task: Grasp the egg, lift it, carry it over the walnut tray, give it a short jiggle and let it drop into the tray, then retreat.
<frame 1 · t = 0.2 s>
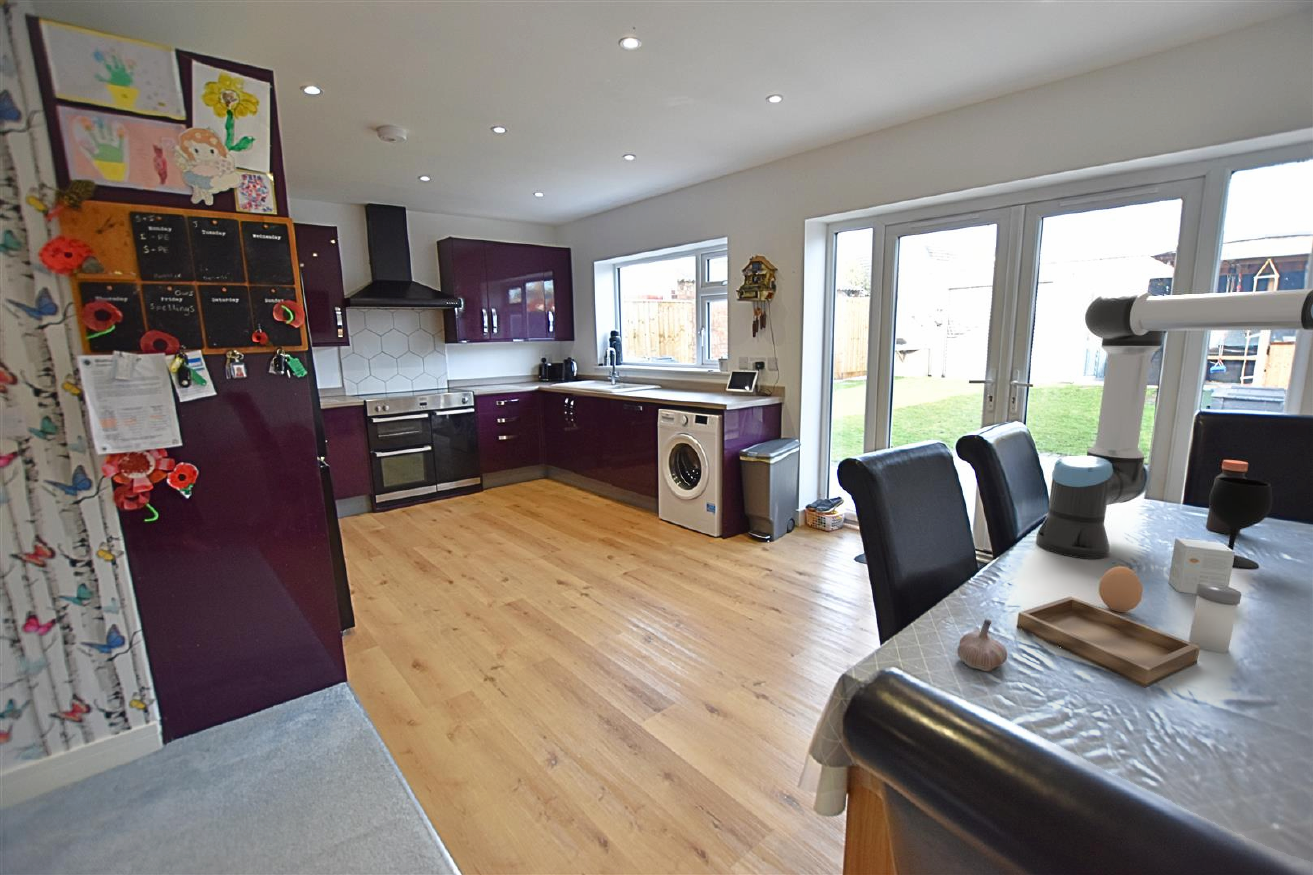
small box: (1195, 591, 120), on the table
egg: (1116, 611, 111), on the table
bottle: (1222, 531, 157), on the table
garlic bulb: (981, 664, 93), on the table
wine glass: (1227, 561, 136), on the table
tray: (1101, 644, 99), on the table
shaker: (1208, 644, 99), on the table
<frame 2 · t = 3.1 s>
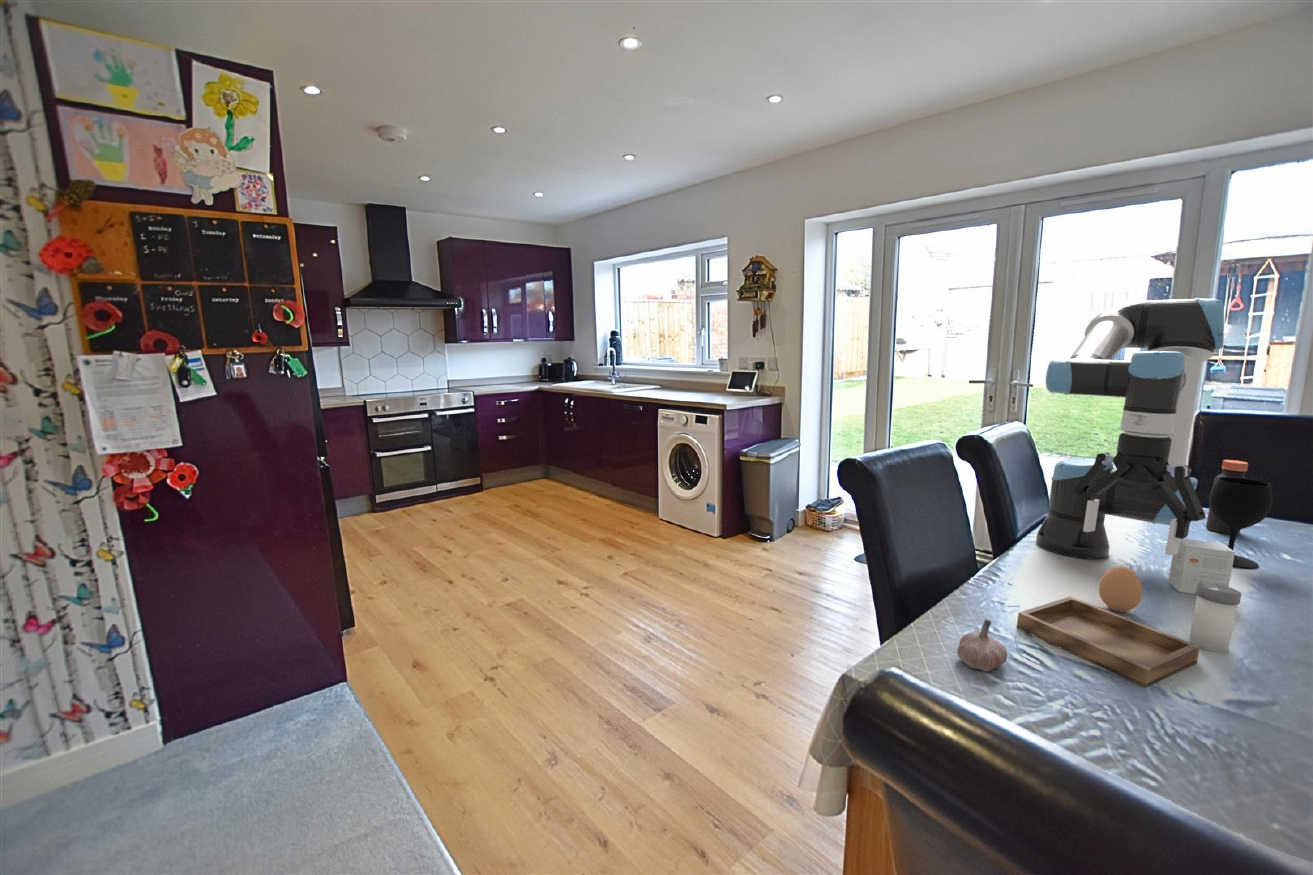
hand: (1127, 541, 108), 14 cm above the table, fingers open, 13 cm apart
nothing on the table moved.
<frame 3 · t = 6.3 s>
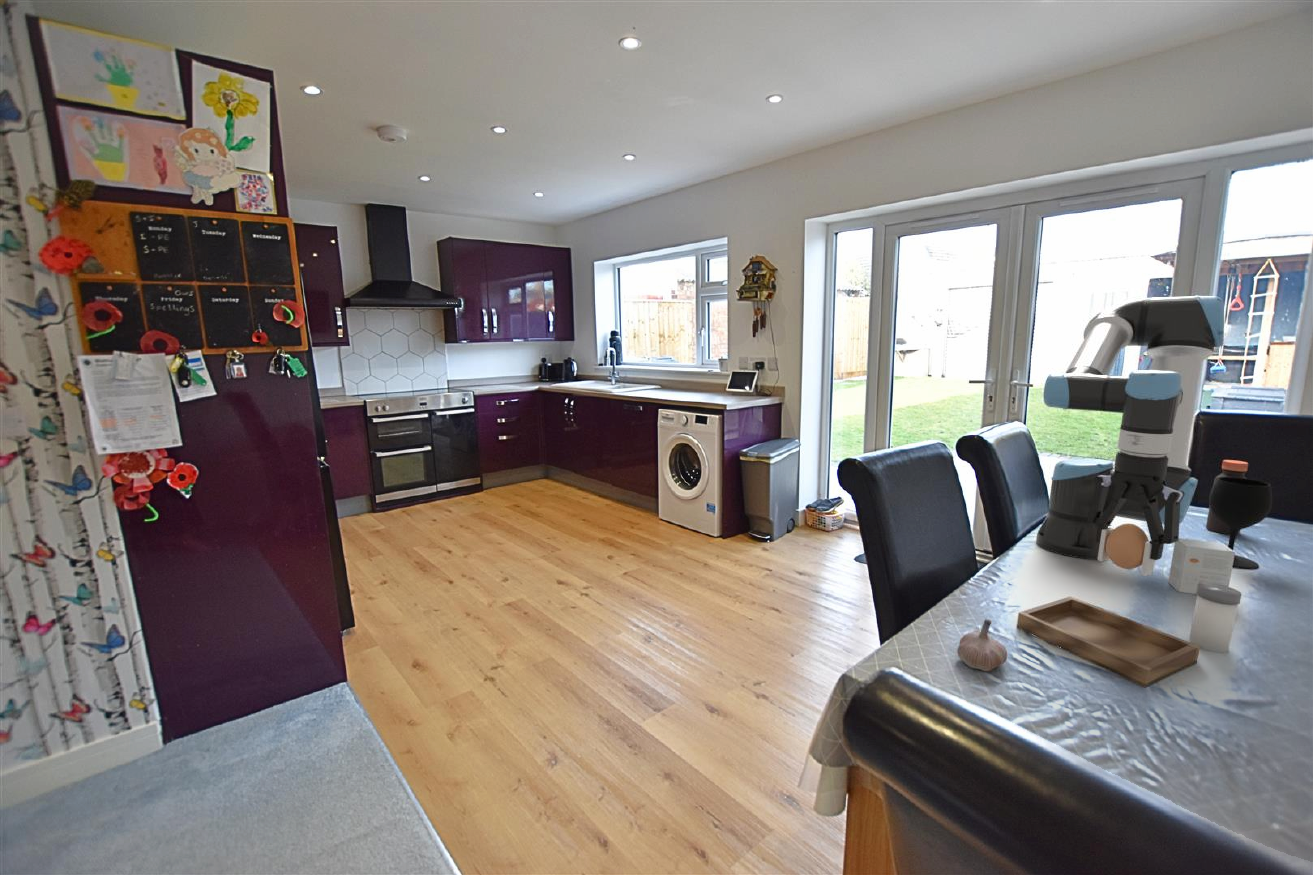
hand: (1124, 566, 110), 9 cm above the table, fingers closed on egg, 7 cm apart
egg: (1124, 568, 110), point 9 cm above the table, touching gripper
everything else where it was.
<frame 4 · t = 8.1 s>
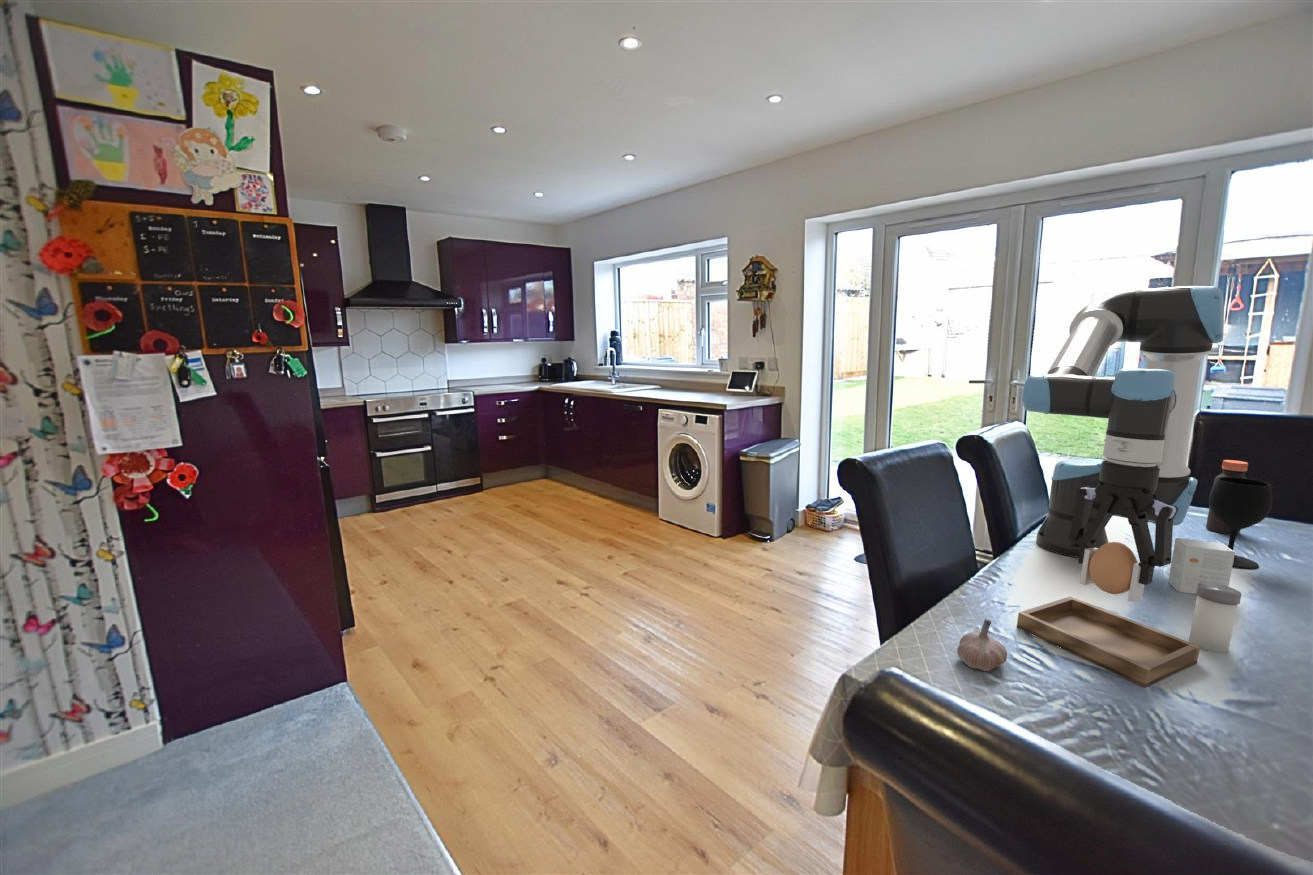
hand: (1109, 591, 97), 10 cm above the table, fingers closed on egg, 7 cm apart
egg: (1109, 593, 97), point 10 cm above the table, touching gripper
everything else where it was.
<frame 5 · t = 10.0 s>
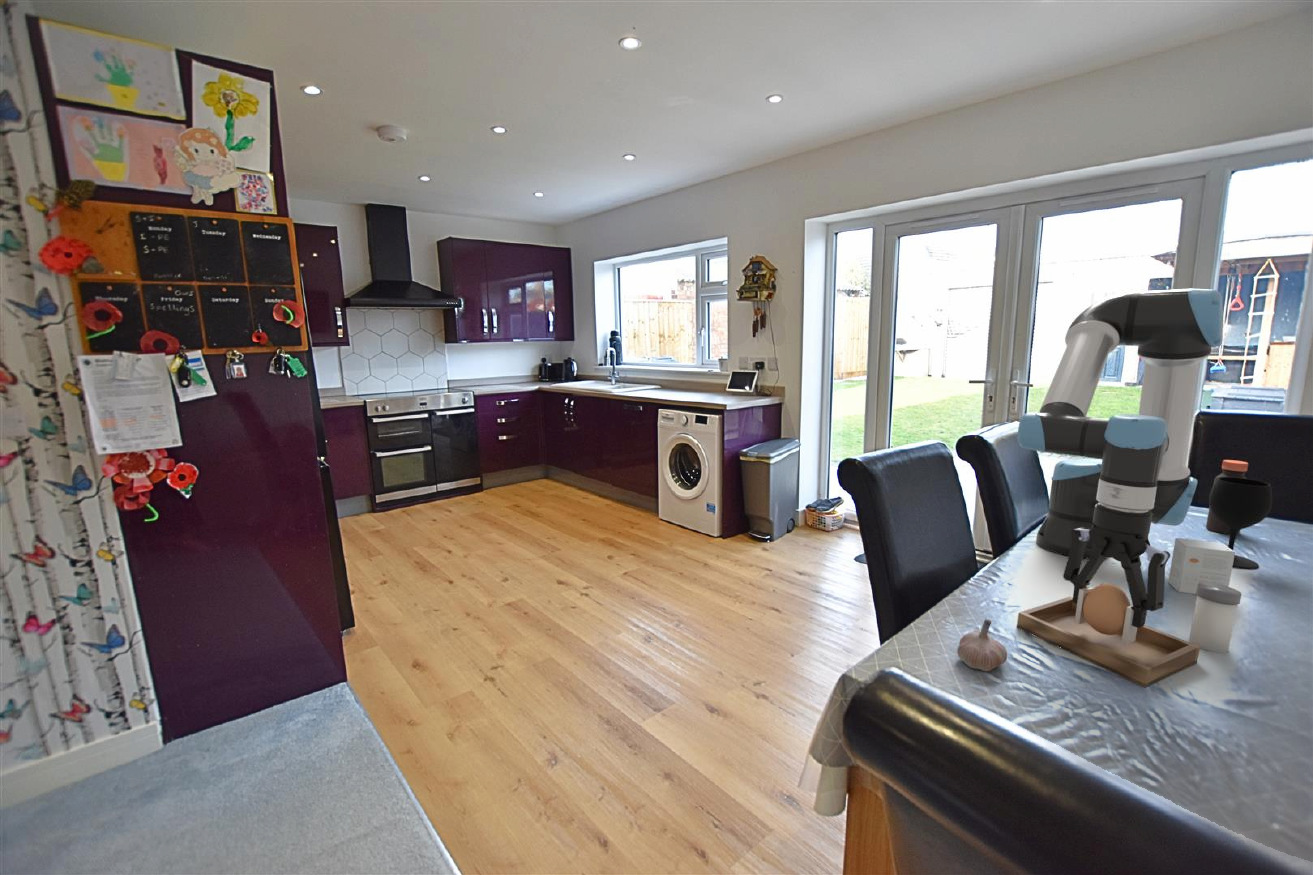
hand: (1103, 631, 98), 2 cm above the table, fingers closed on egg, 7 cm apart
egg: (1103, 633, 99), point 2 cm above the table, touching gripper
everything else where it was.
when the fingers open (2 cm above the table, at t = 10.5 s): egg drops 1 cm, resting on tray.
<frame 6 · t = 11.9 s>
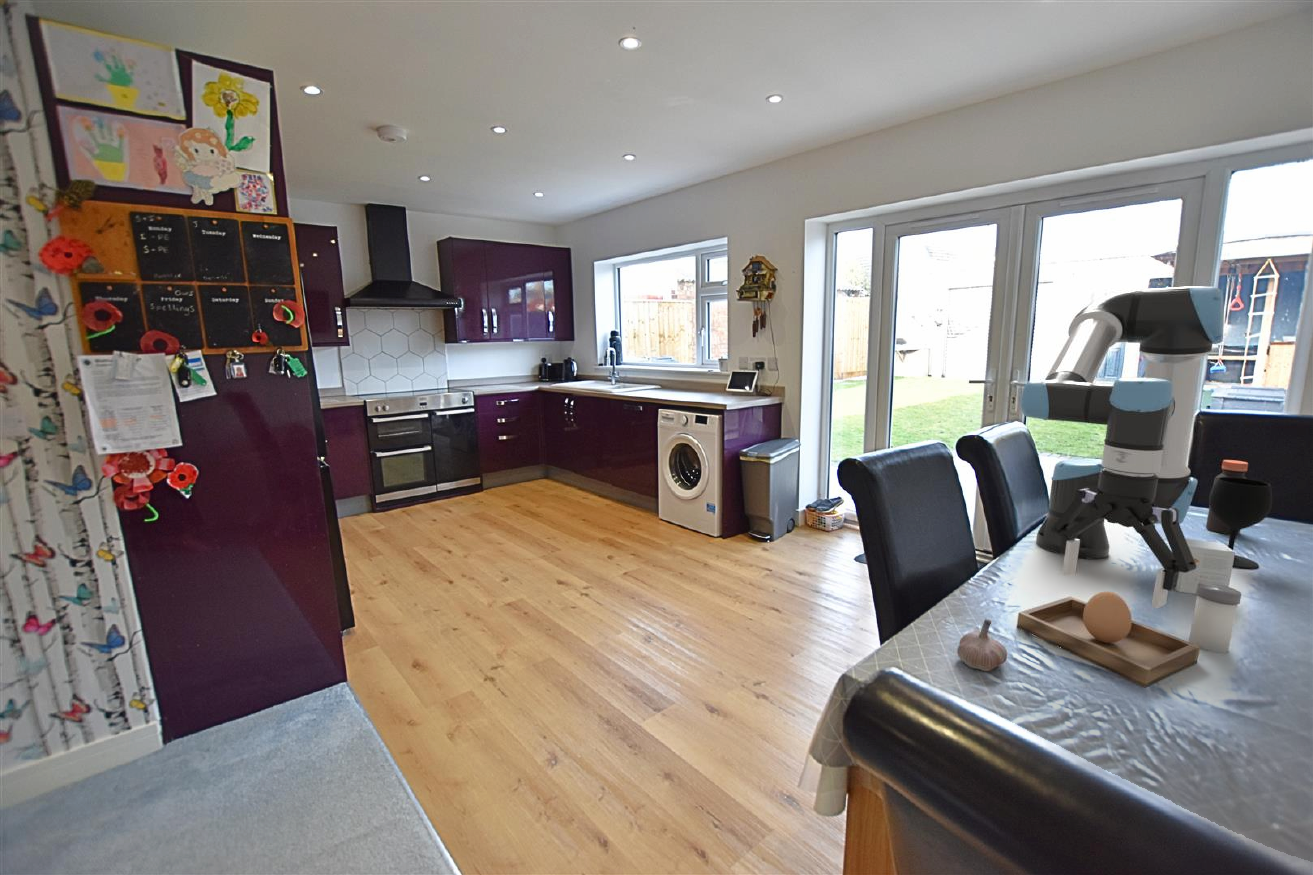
hand: (1110, 588, 97), 10 cm above the table, fingers open, 13 cm apart
egg: (1103, 642, 99), resting on tray
everything else where it was.
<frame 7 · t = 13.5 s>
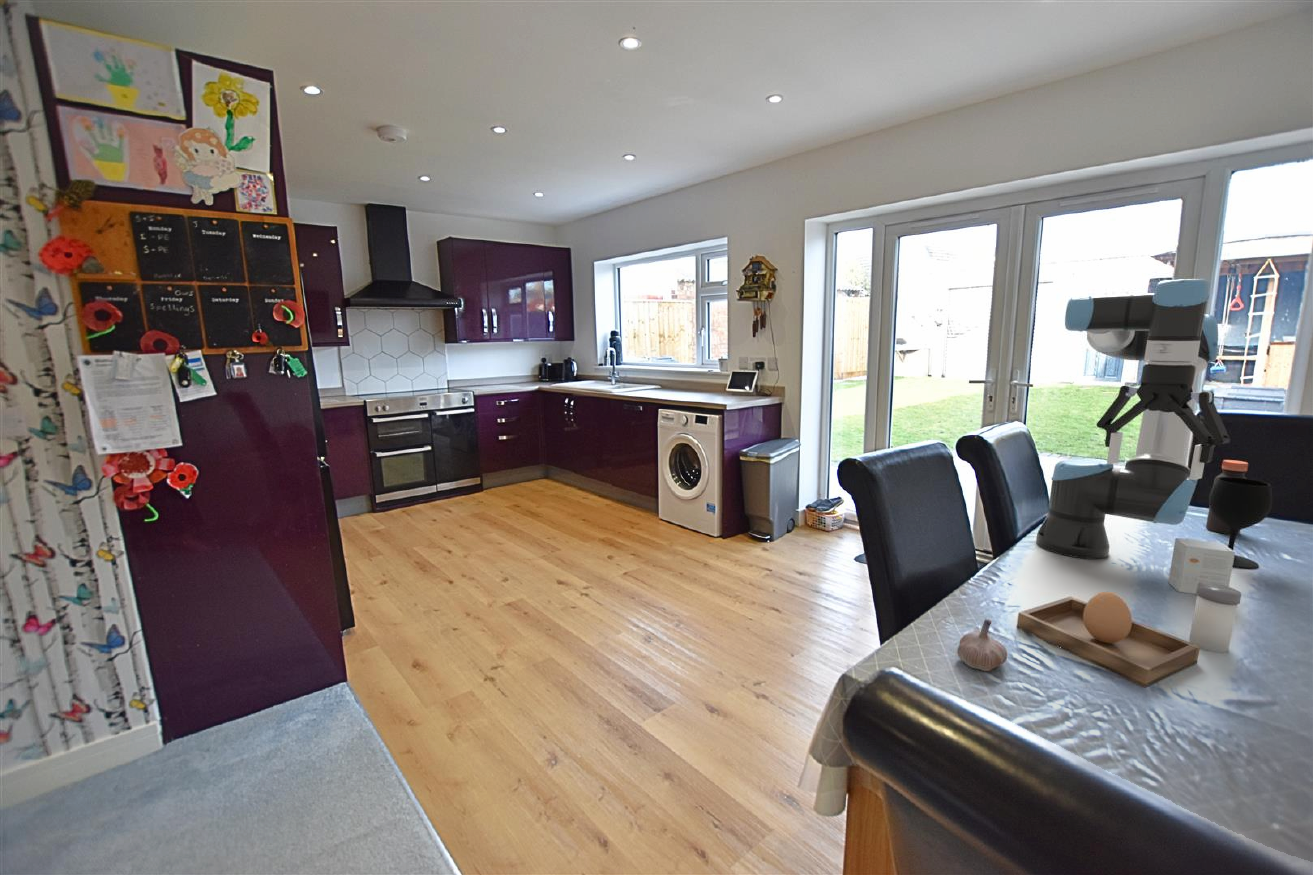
hand: (1151, 470, 111), 28 cm above the table, fingers open, 13 cm apart
nothing on the table moved.
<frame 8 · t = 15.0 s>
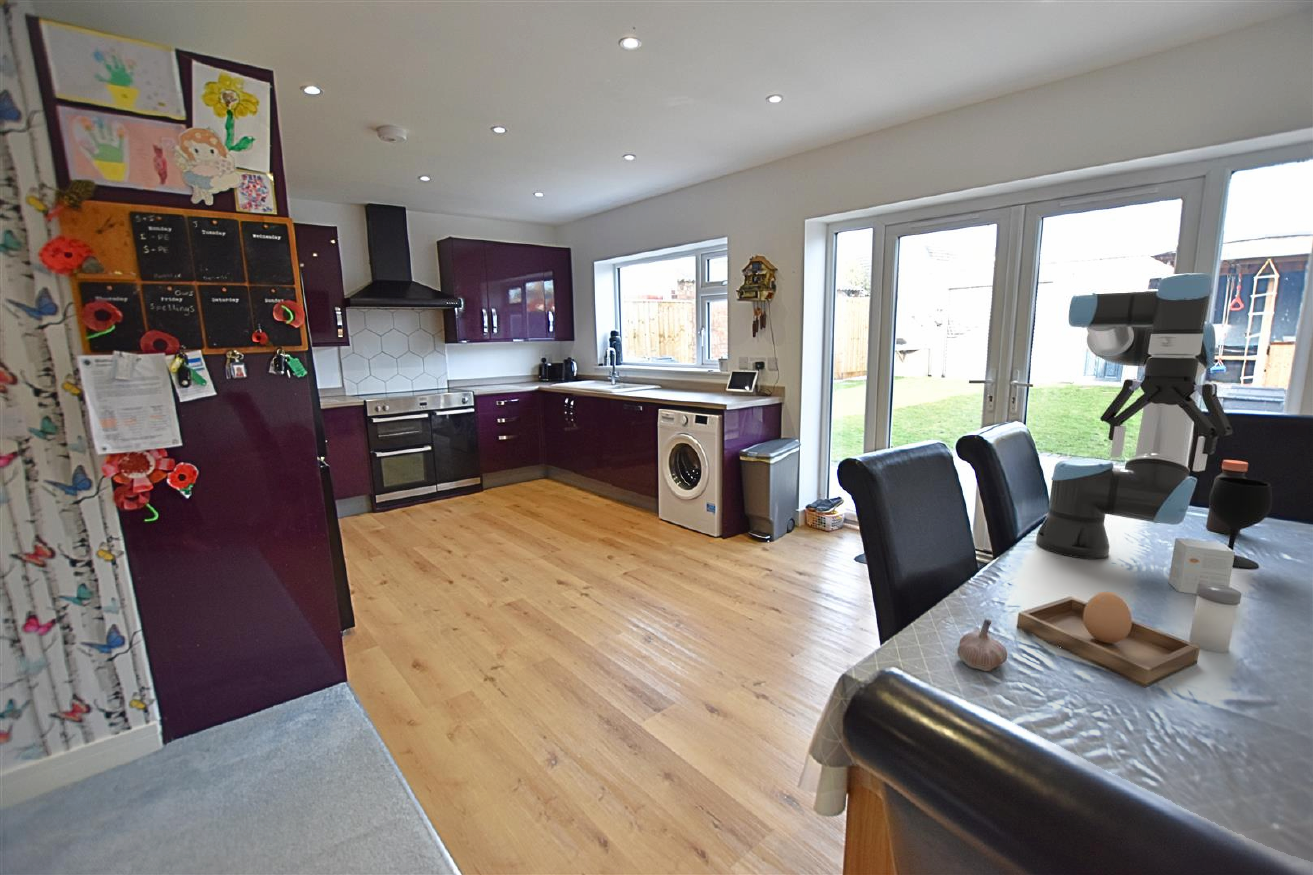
hand: (1155, 463, 112), 29 cm above the table, fingers open, 13 cm apart
nothing on the table moved.
at the end: egg inside the target area on the tray (0.1 cm from its centre), point 0.4 cm above the tray's base; the gripper is holding nothing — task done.
